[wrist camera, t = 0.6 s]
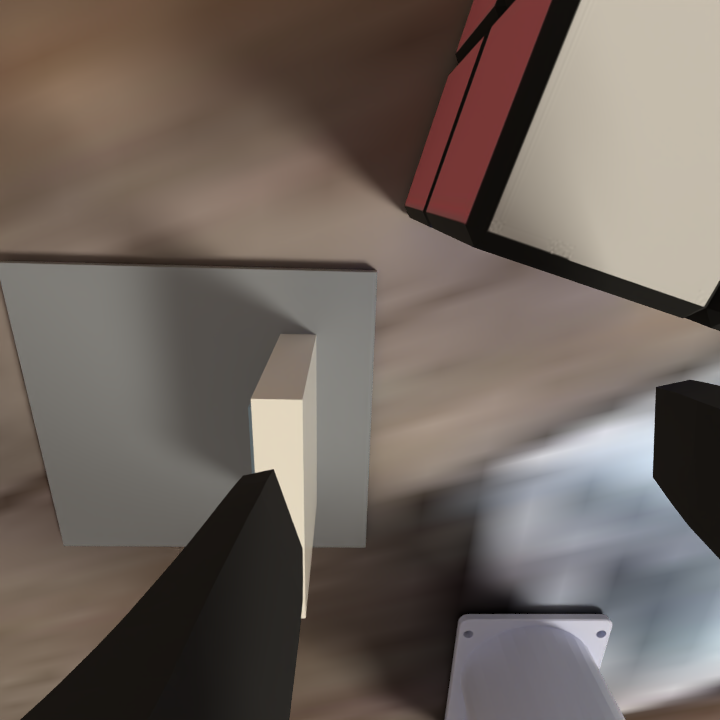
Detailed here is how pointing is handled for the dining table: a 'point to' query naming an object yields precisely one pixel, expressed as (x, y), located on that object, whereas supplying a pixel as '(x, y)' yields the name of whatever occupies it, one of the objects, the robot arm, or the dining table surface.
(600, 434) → the dining table surface
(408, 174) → the dining table surface
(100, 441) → the slate mat
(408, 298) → the dining table surface
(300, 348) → the block
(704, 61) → the puzzle cube
